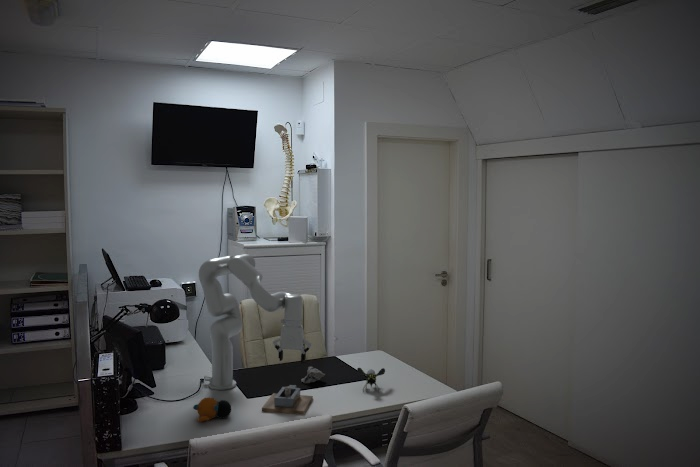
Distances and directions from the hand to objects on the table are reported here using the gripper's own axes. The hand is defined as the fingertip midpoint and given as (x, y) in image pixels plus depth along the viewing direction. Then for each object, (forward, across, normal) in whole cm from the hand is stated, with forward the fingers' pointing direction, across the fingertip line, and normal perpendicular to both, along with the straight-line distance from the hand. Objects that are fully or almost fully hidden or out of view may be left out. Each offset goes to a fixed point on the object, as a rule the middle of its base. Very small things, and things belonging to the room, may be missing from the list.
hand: (291, 360), depth 250 cm
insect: (+17, +34, +17) cm, 41 cm away
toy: (+18, -26, -28) cm, 42 cm away
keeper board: (+17, +1, -8) cm, 19 cm away
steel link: (+16, +1, -6) cm, 17 cm away
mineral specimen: (+17, +5, +23) cm, 29 cm away
